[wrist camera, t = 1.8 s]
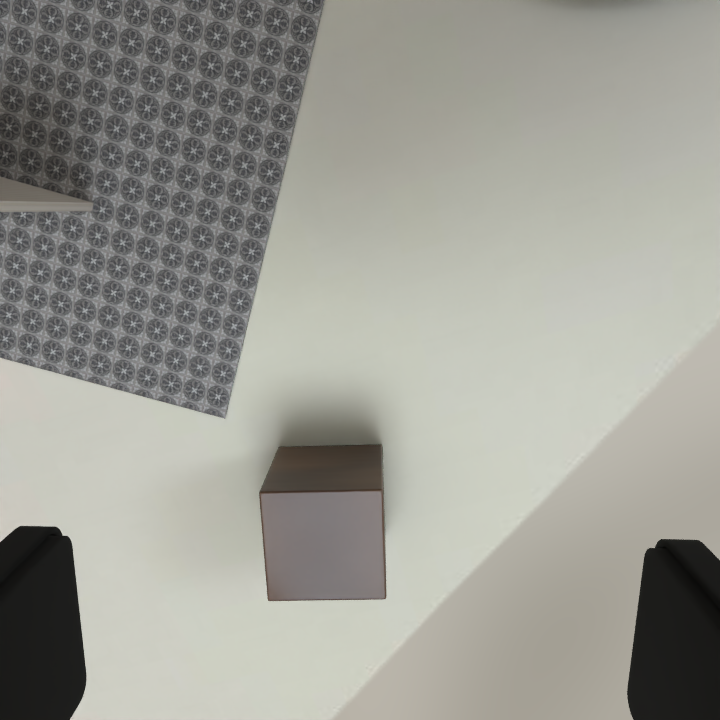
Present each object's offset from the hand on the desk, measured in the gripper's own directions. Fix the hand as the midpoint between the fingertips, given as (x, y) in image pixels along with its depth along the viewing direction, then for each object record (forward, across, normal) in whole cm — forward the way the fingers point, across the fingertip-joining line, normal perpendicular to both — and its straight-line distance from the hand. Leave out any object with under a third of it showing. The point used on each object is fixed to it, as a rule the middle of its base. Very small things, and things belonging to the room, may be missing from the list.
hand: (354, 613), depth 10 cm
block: (+17, +2, +6) cm, 18 cm away
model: (+17, +16, -9) cm, 25 cm away
